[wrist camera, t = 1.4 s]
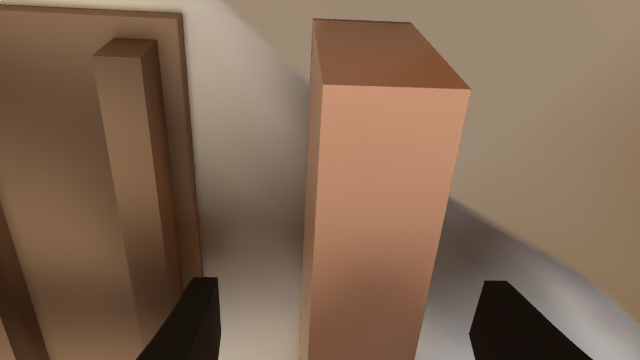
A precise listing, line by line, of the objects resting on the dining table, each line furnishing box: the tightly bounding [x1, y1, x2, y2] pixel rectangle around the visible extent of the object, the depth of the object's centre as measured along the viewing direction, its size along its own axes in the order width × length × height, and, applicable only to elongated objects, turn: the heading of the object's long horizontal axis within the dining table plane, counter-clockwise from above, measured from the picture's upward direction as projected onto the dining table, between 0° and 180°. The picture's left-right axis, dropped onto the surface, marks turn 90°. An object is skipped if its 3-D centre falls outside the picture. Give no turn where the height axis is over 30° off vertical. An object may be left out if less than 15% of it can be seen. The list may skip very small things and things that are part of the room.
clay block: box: [299, 18, 471, 360], centre depth 14 cm, size 14×2×5 cm, turn 177°
